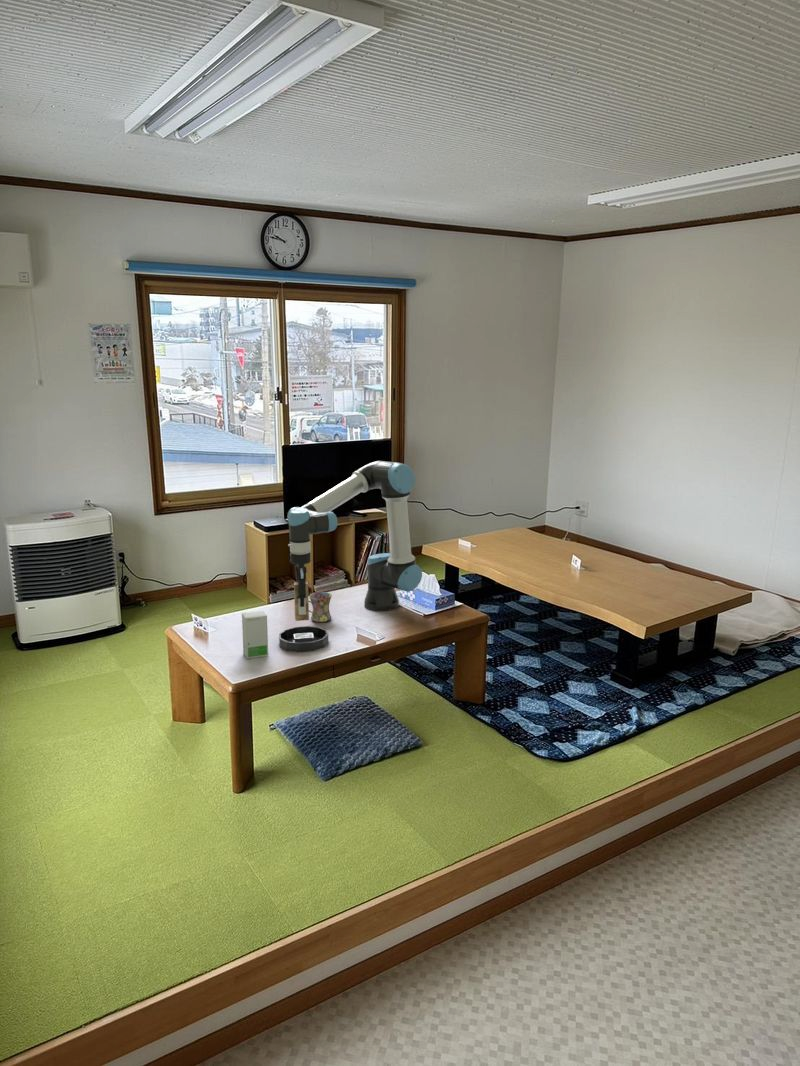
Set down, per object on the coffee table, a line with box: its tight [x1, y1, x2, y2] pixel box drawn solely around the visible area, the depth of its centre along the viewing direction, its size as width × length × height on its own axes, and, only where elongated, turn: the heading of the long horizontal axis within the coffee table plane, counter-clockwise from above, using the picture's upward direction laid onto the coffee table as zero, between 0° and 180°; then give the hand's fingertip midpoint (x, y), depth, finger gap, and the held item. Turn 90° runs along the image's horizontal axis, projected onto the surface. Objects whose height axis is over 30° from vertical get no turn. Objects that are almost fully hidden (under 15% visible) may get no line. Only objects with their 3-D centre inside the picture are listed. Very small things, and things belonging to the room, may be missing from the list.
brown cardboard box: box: [293, 581, 310, 622], centre depth 281 cm, size 5×3×14 cm, turn 102°
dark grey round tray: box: [278, 625, 329, 653], centre depth 284 cm, size 18×18×4 cm
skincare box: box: [241, 610, 269, 660], centre depth 272 cm, size 8×7×16 cm
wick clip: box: [293, 633, 314, 643], centre depth 284 cm, size 8×5×2 cm
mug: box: [308, 591, 333, 623], centre depth 308 cm, size 12×9×11 cm
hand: (301, 612), depth 282 cm, fingers closed on brown cardboard box, 3 cm apart
